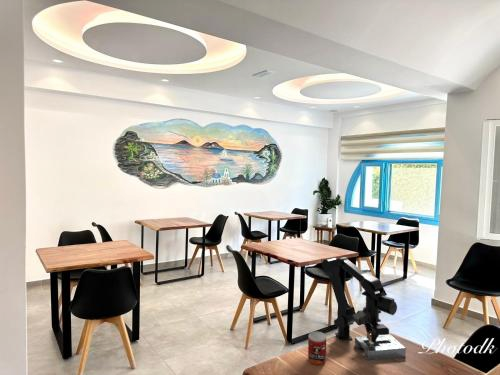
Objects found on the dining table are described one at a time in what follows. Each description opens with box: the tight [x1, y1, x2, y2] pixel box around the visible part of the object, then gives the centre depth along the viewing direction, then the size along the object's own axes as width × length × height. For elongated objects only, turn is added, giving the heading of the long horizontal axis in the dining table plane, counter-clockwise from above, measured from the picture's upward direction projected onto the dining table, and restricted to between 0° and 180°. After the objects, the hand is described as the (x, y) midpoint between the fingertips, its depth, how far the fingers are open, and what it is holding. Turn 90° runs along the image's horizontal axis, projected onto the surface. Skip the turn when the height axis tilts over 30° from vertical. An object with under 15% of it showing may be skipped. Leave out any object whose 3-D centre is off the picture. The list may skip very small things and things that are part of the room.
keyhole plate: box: [354, 333, 407, 361], centre depth 148 cm, size 12×18×4 cm, turn 98°
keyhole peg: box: [366, 331, 374, 347], centre depth 148 cm, size 4×4×8 cm
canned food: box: [307, 331, 327, 366], centre depth 141 cm, size 8×8×11 cm
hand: (371, 340), depth 148 cm, fingers closed on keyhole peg, 3 cm apart
